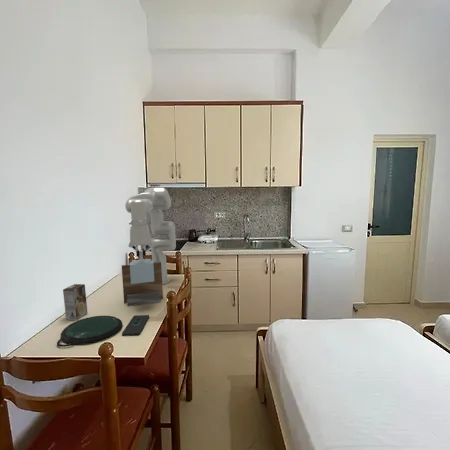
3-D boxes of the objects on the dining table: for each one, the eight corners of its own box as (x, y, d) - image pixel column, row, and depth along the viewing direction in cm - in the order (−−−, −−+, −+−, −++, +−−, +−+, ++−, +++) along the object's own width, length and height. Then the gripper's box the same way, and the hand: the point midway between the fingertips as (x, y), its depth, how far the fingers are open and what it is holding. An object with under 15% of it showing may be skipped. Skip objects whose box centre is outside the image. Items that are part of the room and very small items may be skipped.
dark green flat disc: (134, 319, 150) (79, 348, 123) (134, 325, 150) (80, 355, 124) (96, 310, 162) (39, 335, 136) (96, 316, 162) (39, 342, 136)
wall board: (124, 302, 180) (121, 265, 177) (162, 297, 186) (160, 261, 183) (123, 306, 173) (121, 268, 171) (163, 301, 179) (161, 264, 177)
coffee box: (77, 312, 167) (74, 283, 165) (87, 313, 165) (85, 284, 163) (65, 320, 158) (62, 289, 156) (76, 320, 156) (74, 289, 155)
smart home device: (149, 314, 158) (139, 332, 138) (150, 317, 159) (139, 336, 139) (133, 315, 158) (121, 333, 138) (133, 318, 158) (121, 337, 139)
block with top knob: (131, 277, 175) (129, 249, 173) (153, 275, 178) (151, 248, 177) (131, 283, 163) (129, 253, 161) (154, 281, 166) (152, 252, 165)
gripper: (123, 225, 158) (125, 260, 160) (155, 223, 163) (156, 257, 165) (123, 223, 165) (125, 257, 168) (154, 221, 170) (156, 255, 172)
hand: (141, 257), depth 166 cm, fingers closed on block with top knob
